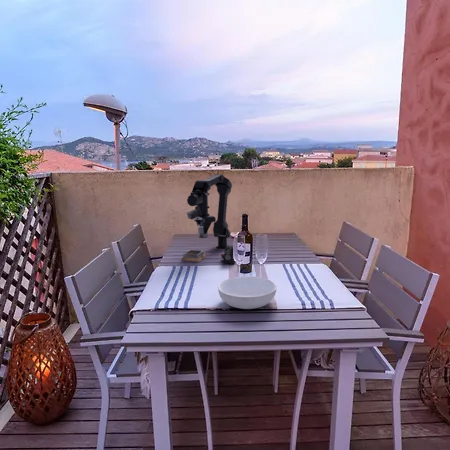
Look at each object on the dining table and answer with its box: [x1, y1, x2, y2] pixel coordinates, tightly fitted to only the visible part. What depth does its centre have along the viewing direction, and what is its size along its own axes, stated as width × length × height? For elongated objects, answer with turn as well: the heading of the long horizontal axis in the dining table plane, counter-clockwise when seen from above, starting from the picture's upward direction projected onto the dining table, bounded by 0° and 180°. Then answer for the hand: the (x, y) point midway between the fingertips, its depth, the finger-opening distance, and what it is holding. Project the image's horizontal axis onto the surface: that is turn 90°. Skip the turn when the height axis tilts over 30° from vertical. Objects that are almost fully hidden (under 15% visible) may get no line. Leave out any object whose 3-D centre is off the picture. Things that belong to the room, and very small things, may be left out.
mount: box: [181, 249, 207, 263], centre depth 181 cm, size 10×10×4 cm
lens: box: [197, 224, 209, 239], centre depth 183 cm, size 5×5×7 cm
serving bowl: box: [217, 275, 278, 310], centre depth 123 cm, size 21×21×7 cm
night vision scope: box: [220, 245, 236, 265], centre depth 175 cm, size 8×18×10 cm
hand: (202, 233), depth 183 cm, fingers closed on lens, 5 cm apart
